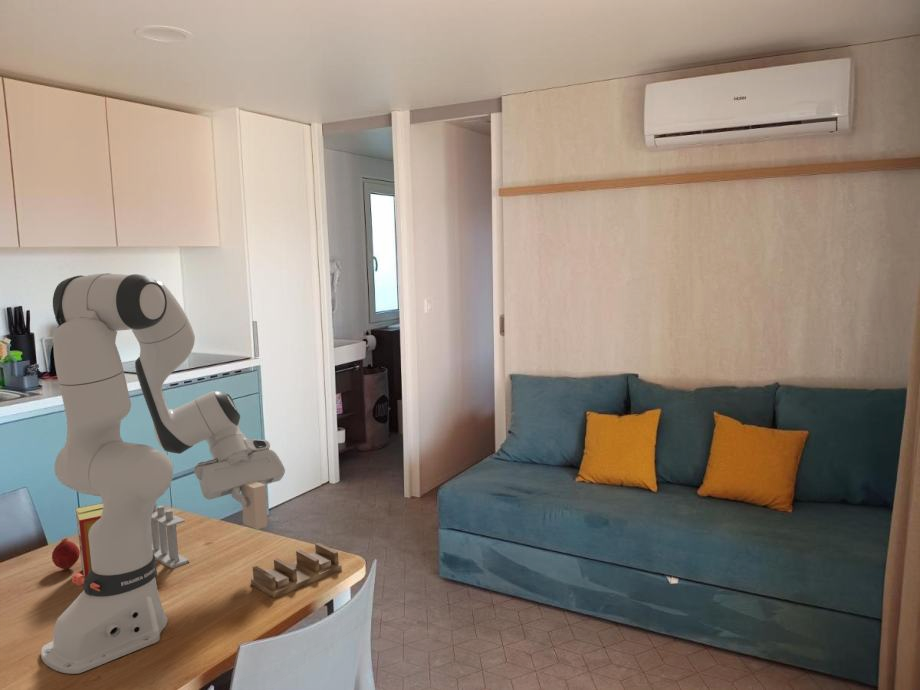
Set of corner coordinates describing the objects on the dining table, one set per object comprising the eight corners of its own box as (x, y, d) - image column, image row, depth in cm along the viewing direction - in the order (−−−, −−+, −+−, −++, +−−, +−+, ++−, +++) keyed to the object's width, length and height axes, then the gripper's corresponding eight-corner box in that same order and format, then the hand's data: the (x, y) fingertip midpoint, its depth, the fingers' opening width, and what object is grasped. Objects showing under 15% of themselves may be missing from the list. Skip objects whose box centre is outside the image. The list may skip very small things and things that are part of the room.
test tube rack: (127, 542, 183) (122, 494, 181) (143, 536, 186) (139, 489, 185) (171, 569, 167) (166, 516, 165) (188, 562, 170) (184, 511, 168)
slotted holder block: (274, 598, 151) (273, 580, 150) (251, 583, 158) (249, 566, 157) (341, 569, 164) (340, 553, 163) (317, 557, 171) (316, 541, 170)
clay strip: (256, 529, 160) (253, 488, 159) (243, 523, 165) (240, 482, 163) (267, 525, 163) (265, 484, 161) (254, 519, 167) (252, 479, 165)
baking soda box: (117, 577, 163) (110, 512, 161) (86, 585, 159) (79, 519, 157) (111, 562, 171) (105, 500, 168) (82, 570, 167) (75, 506, 165)
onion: (79, 572, 166) (75, 540, 165) (51, 577, 164) (48, 544, 163) (82, 562, 171) (79, 531, 170) (55, 566, 169) (52, 535, 168)
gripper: (194, 457, 159) (217, 508, 153) (274, 439, 173) (297, 485, 168) (187, 472, 163) (209, 522, 157) (265, 453, 177) (288, 499, 171)
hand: (255, 503), depth 162 cm, fingers closed on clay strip, 3 cm apart
